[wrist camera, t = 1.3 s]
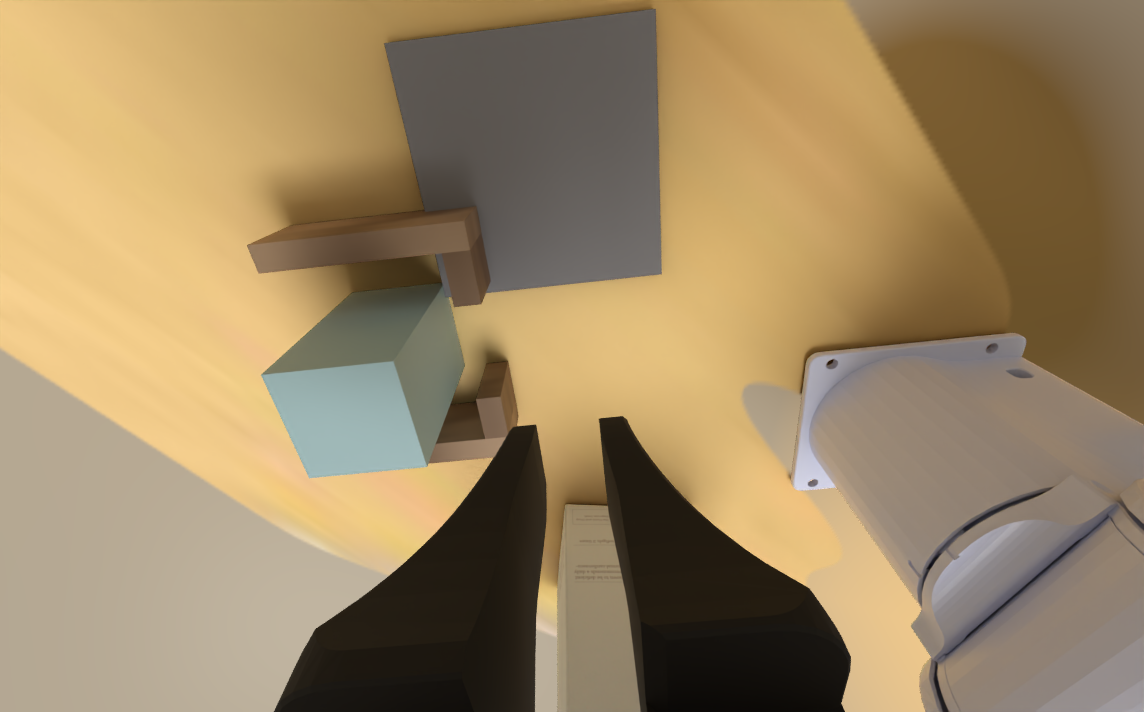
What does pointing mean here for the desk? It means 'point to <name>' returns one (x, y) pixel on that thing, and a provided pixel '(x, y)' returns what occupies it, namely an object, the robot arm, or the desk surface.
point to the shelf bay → (467, 271)
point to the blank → (370, 382)
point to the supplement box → (593, 618)
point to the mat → (541, 144)
